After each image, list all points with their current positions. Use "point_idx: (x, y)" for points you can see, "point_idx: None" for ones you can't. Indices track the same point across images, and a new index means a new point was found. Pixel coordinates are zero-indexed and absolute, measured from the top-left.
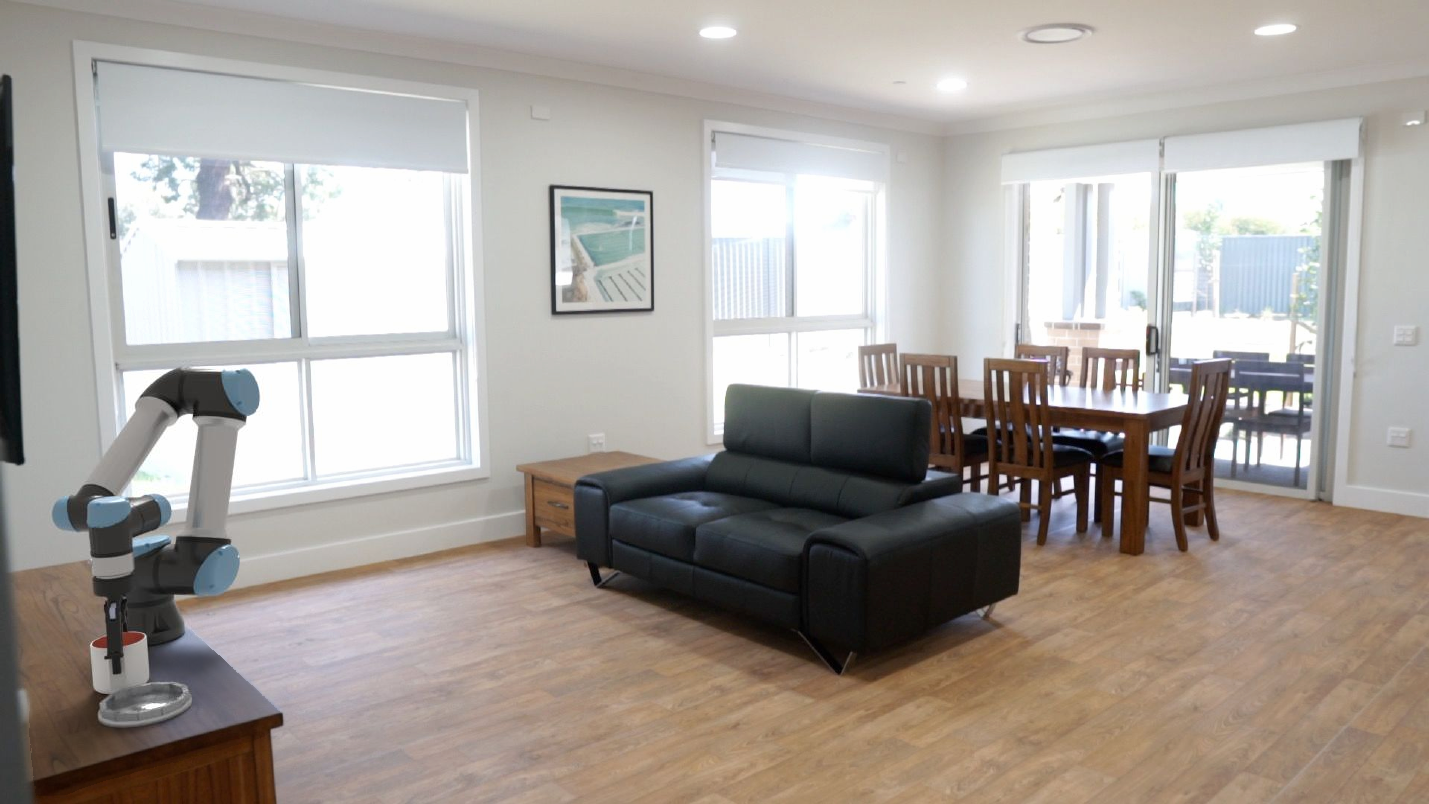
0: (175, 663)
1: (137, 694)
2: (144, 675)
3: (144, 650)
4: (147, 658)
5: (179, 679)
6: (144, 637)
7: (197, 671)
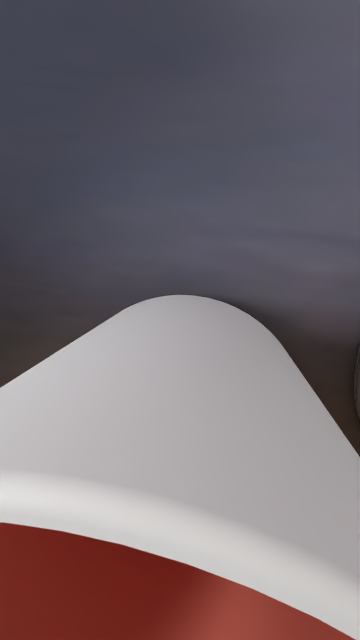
0: (14, 144)
1: None
2: (273, 337)
3: (310, 421)
4: (230, 336)
5: (261, 156)
6: (242, 582)
7: (198, 36)
